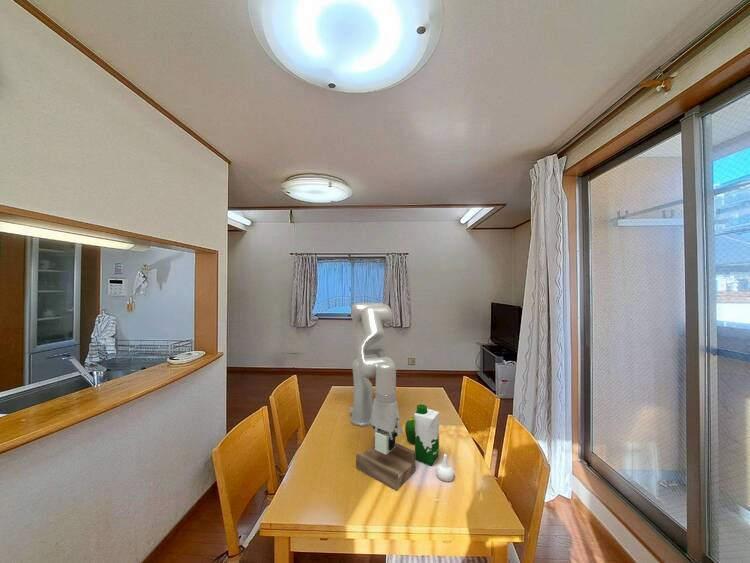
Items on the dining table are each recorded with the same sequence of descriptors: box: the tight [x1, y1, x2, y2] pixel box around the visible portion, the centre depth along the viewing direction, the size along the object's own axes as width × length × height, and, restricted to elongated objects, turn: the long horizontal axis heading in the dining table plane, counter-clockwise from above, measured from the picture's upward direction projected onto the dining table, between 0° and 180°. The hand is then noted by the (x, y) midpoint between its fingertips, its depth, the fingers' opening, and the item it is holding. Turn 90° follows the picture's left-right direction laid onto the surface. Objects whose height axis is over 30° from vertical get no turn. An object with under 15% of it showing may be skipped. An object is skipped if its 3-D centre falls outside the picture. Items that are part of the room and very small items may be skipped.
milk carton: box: [413, 404, 440, 467], centre depth 108 cm, size 9×9×20 cm
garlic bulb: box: [435, 453, 455, 482], centre depth 98 cm, size 6×6×8 cm
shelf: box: [355, 436, 417, 491], centre depth 101 cm, size 13×18×7 cm
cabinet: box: [374, 429, 395, 455], centre depth 101 cm, size 5×6×7 cm
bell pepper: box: [404, 415, 415, 445], centre depth 120 cm, size 8×8×10 cm
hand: (385, 445), depth 101 cm, fingers closed on cabinet, 5 cm apart
